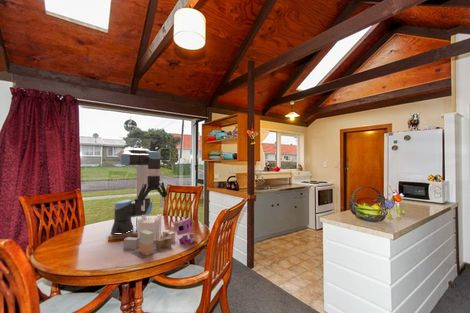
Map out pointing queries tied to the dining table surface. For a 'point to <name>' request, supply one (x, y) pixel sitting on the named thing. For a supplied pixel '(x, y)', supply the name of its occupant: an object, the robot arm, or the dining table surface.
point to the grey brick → (131, 243)
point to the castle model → (150, 226)
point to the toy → (185, 230)
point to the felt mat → (144, 254)
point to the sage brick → (146, 237)
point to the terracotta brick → (145, 248)
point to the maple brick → (170, 234)
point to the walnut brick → (163, 243)
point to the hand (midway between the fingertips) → (152, 208)
